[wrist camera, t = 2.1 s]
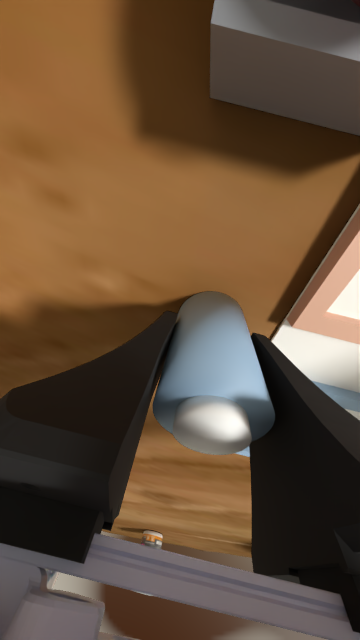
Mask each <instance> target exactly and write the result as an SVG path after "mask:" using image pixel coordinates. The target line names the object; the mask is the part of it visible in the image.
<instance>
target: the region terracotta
mask: <svg viewBox="0 0 360 640" xmlns="http://www.w3.org/2000/svg"><path fill="white" fill-rule="evenodd" d="M359 269H360V208H359V210H358V211H357V213H356V214H355V216H354V217H353V219H352V220H351V222H350V223H349V225H348V226H347V228H346V229H345V231H344V232H343V234H342V235H341V237H340V238H339V240H338V241H337V243H336V245H335V246H334V248H333V249H332V251H331V252H330V254H329V255H328V257H327V258H326V260H325V261H324V263H323V264H322V266H321V267H320V269H319V270H318V272H317V273H316V275H315V276H314V278H313V279H312V281H311V283H310V284H309V286H308V287H307V289H306V290H305V292H304V293H303V295H302V296H301V298H300V299H299V301H298V302H297V304H296V305H295V307H294V308H293V310H292V311H291V313H290V314H289V316H288V317H287V321H288V322H289V324H290V325H291V327H293V328H297V329H301V330H305V331H309V332H313V333H317V334H321V335H325V336H328V337H332V338H336V339H340V340H344V341H348V342H352V343H356V344H360V320H358V319H354V318H350V317H346V316H342V315H338V314H334V313H330V312H326V311H327V310H328V309H329V307H330V306H331V305H332V304H333V302H334V301H335V300H336V299H337V297H338V296H339V295H340V294H341V292H342V291H343V290H344V288H345V287H346V286H347V285H348V283H349V282H350V281H351V280H352V278H353V277H354V276H355V274H356V273H357V272H358V271H359Z"/></svg>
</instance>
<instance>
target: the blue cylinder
mask: <svg viewBox="0 0 360 640" xmlns="http://www.w3.org/2000/svg"><path fill="white" fill-rule="evenodd" d="M153 413H154V416H155V418H156V420H157V421H158V422H159V423H160V425H161V426H162V427H163V428H165V429H166V430H167V431H169V432H170V433H172V434H173V436H174V437H175V439H176V440H177V441H178V442H179V443H180V444H182V445H183V446H185V447H187V448H189V449H191V450H194V451H197V452H201V453H205V454H213V455H226V454H233V453H237V452H240V451H242V450H244V449H246V448H247V447H248V446H249V445H250V443H251V442H252V441H255V440H257V439H259V438H261V437H262V436H264V435H265V434H266V433H267V432H268V431H269V430H270V429H271V428H272V426H273V424H274V421H275V412H274V408H273V405H272V402H271V399H270V396H269V393H268V390H267V387H266V383H265V380H264V377H263V374H262V371H261V368H260V365H259V362H258V358H257V355H256V352H255V349H254V346H253V343H252V340H251V337H250V334H249V330H248V327H247V324H246V321H245V318H244V315H243V312H242V309H241V307H240V306H239V304H238V303H237V302H236V301H235V300H234V299H233V298H231V297H230V296H228V295H226V294H224V293H220V292H214V291H207V292H201V293H198V294H195V295H193V296H191V297H190V298H189V299H187V300H186V301H185V302H184V303H183V305H182V306H181V308H180V310H179V313H178V316H177V320H176V324H175V328H174V331H173V335H172V338H171V341H170V344H169V348H168V352H167V355H166V359H165V362H164V366H163V369H162V373H161V376H160V380H159V383H158V387H157V391H156V394H155V398H154V401H153Z"/></svg>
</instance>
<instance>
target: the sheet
mask: <svg viewBox="0 0 360 640" xmlns="http://www.w3.org/2000/svg"><path fill="white" fill-rule="evenodd" d="M359 208H360V204H359V206H358V207H357V209H356V210H355V212H354V213H353V215H352V216H351V218H350V219H349V221H348V222H347V224H346V225H345V227H344V229H343V230H342V232H341V233H340V235H339V236H338V238H337V239H336V241H335V242H334V244H333V245H332V247H331V249H330V250H329V252H328V253H327V255H326V256H325V258H324V259H323V261H322V262H321V264H320V265H319V267H318V268H317V270H316V272H315V273H314V275H313V276H312V278H311V279H310V281H309V282H308V284H307V285H306V287H305V288H304V290H303V292H302V293H301V295H300V296H299V298H298V299H297V301H296V302H295V304H294V305H293V307H292V308H291V310H290V312H289V313H288V315H287V316H286V318H285V319H284V321H283V322H282V324H281V325H280V327H279V328H278V330H277V331H276V333H275V335H274V336H273V338H272V339H271V342H272V343H273V344H274V345H275V346H276V347H277V348H278V349H279V350H280V351H281V352H282V353H283V354H284V355H285V356H286V357H287V358H288V359H289V360H290V361H291V362H292V363H293V364H294V365H295V366H296V367H297V368H298V369H299V370H300V371H301V372H302V373H303V374H304V375H306V376H307V377H308V378H309V379H310V380H311V381H315V382H319V383H323V384H327V385H331V386H335V387H339V388H343V389H347V390H350V391H354V392H358V393H360V344H356V343H352V342H348V341H344V340H340V339H336V338H332V337H328V336H325V335H321V334H317V333H313V332H309V331H305V330H301V329H297V328H293V327H291V325H290V324H289V322H288V321H287V317H288V316H289V314H290V313H291V311H292V310H293V308H294V307H295V305H296V304H297V302H298V301H299V299H300V298H301V296H302V295H303V293H304V292H305V290H306V289H307V287H308V286H309V284H310V283H311V281H312V279H313V278H314V276H315V275H316V273H317V272H318V270H319V269H320V267H321V266H322V264H323V263H324V261H325V260H326V258H327V257H328V255H329V254H330V252H331V251H332V249H333V248H334V246H335V245H336V243H337V241H338V240H339V238H340V237H341V235H342V234H343V232H344V231H345V229H346V228H347V226H348V225H349V223H350V222H351V220H352V219H353V217H354V216H355V214H356V213H357V211H358V210H359ZM326 312H330V313H334V314H338V315H342V316H346V317H350V318H354V319H358V320H360V269H359V271H358V272H357V273H356V274H355V276H354V277H353V278H352V280H351V281H350V282H349V283H348V285H347V286H346V287H345V288H344V290H343V291H342V292H341V294H340V295H339V296H338V297H337V299H336V300H335V301H334V302H333V304H332V305H331V306H330V307H329V309H328V310H327V311H326ZM345 410H346V411H348V412H349V413H350V414H352V415H353V416H354V417H356V418H357V419H358V420H360V412H356V411H352V410H348V409H345Z"/></svg>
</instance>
